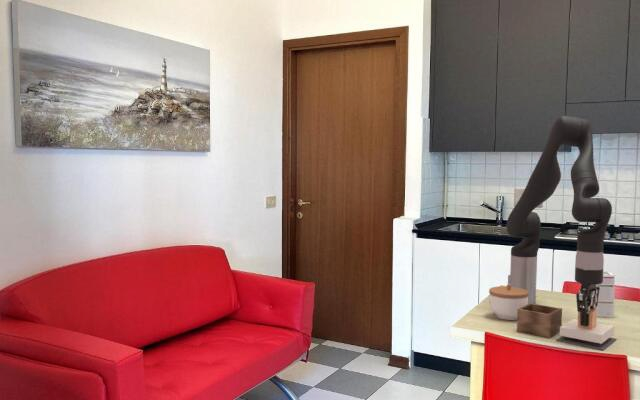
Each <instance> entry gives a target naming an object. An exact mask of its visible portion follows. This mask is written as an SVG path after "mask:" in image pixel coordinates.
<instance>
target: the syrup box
mask: <svg viewBox="0 0 640 400" xmlns="http://www.w3.org/2000/svg"><path fill="white" fill-rule="evenodd" d="M615 278H616V277H615V275H614V274H613V273H612V272H611V271H603V283H602V284H598V285H596V287H600V290H599V297H598V306H597V307H596V310H597V318H614V316H615V315H614V314H615Z"/></svg>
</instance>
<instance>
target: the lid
mask: <svg viewBox="0 0 640 400" xmlns="http://www.w3.org/2000/svg"><path fill="white" fill-rule="evenodd" d="M583 308H584V306H583ZM580 314H581V313H580V312H578V311H577V318H572V319H570V320H569V321H568V322H566V323H564V324H562V326H561V327H560V332H559V337H561V336H565V337H570V338H575V339H580V340H585V341H590V342H595V343H600V344H602V343H603V342H604V341H606V340H607V339H608V338H610V337H611V338H612V336H614V331H615V330H614V329H615V325H610V324H604V323H599V322H597V319H598V317H597V310H596V309H590V312H589V325H588V326H587V327H586V326H581V325H580Z"/></svg>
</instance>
